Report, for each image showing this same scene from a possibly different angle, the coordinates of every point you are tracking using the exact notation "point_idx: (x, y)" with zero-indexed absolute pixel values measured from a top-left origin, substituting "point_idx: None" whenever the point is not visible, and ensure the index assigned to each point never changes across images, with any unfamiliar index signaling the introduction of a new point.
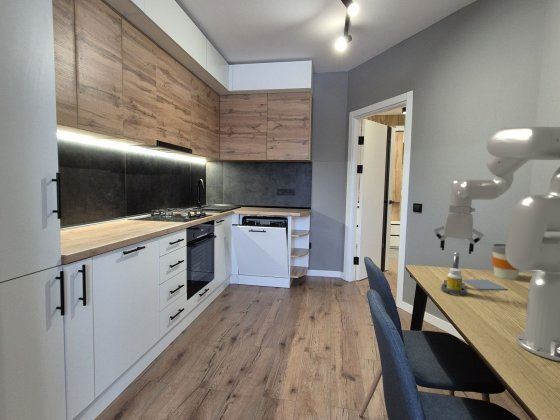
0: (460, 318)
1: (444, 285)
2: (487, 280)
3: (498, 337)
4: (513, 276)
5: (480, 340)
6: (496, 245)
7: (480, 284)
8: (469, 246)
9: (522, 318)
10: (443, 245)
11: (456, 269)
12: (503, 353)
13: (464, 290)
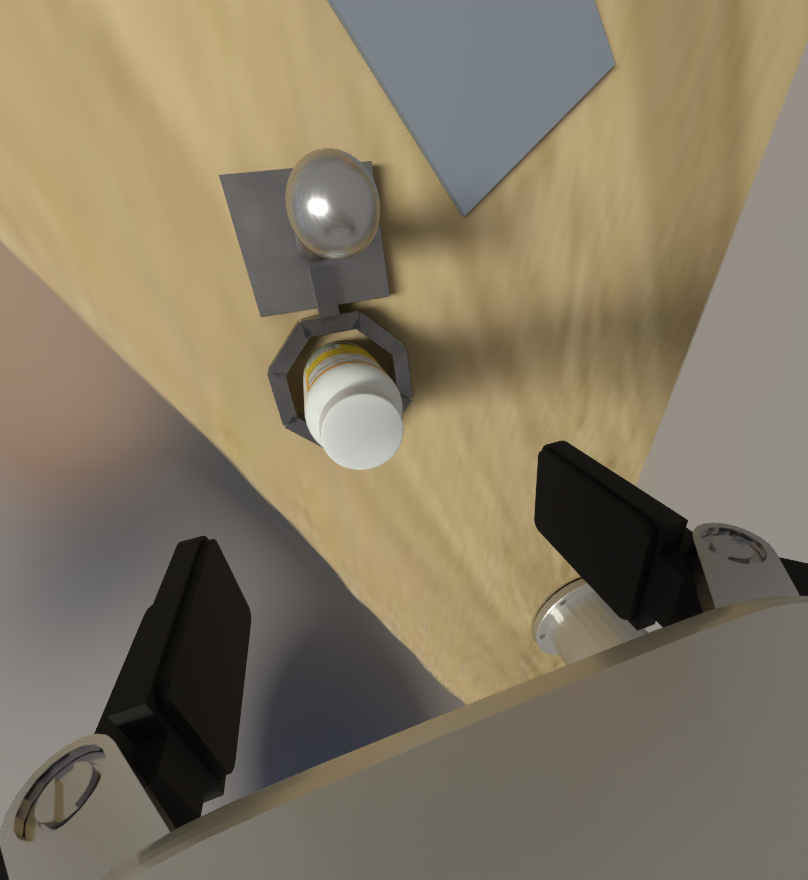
0: (417, 618)
1: (285, 376)
2: None
3: (500, 637)
4: None
5: (466, 674)
6: None
7: (464, 72)
8: (599, 552)
9: None
10: (234, 693)
11: (371, 425)
12: (502, 681)
13: (401, 395)
